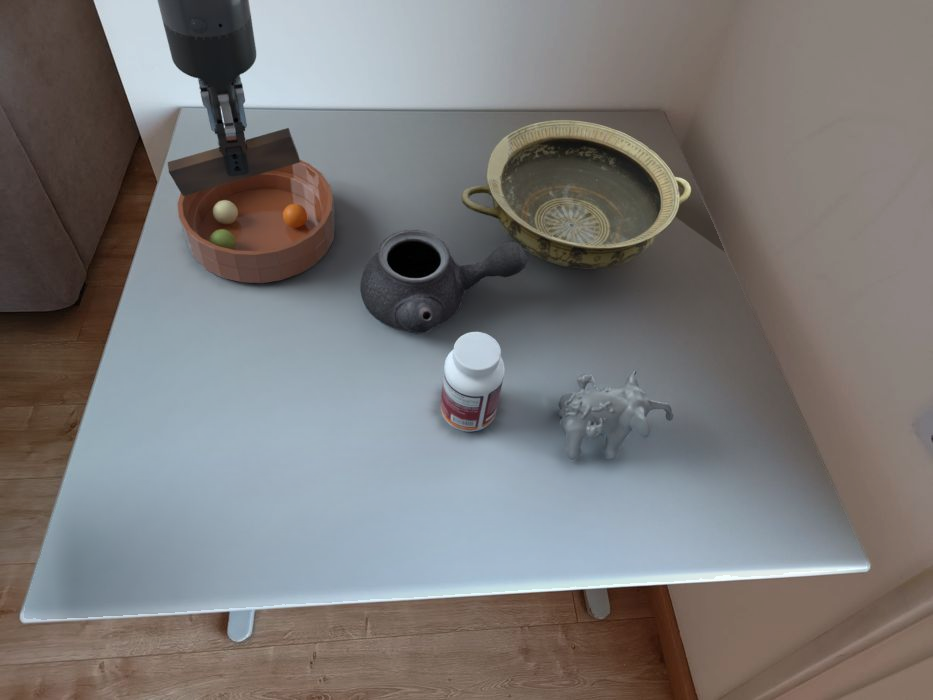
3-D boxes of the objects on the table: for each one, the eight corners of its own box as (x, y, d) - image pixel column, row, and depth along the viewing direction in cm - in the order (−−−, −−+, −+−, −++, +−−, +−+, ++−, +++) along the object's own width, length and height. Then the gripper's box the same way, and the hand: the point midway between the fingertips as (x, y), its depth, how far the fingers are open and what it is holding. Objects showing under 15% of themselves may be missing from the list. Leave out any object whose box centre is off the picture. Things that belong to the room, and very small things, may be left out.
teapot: (368, 363, 81) (366, 307, 73) (356, 263, 89) (353, 203, 81) (529, 349, 84) (544, 293, 76) (502, 254, 93) (513, 195, 85)
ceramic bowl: (647, 174, 105) (668, 116, 97) (701, 297, 91) (731, 242, 83) (445, 179, 100) (450, 119, 92) (470, 310, 87) (478, 253, 79)
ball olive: (237, 242, 85) (243, 242, 88) (218, 223, 85) (225, 224, 88) (219, 259, 86) (226, 259, 89) (201, 241, 85) (208, 241, 88)
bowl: (193, 297, 84) (183, 265, 80) (183, 194, 94) (173, 160, 90) (347, 273, 88) (345, 241, 84) (321, 177, 98) (318, 144, 94)
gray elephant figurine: (538, 409, 79) (551, 370, 73) (631, 381, 83) (651, 342, 76) (575, 482, 74) (592, 446, 68) (672, 449, 78) (697, 412, 72)
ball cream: (226, 202, 87) (225, 226, 88) (243, 202, 90) (242, 225, 91) (207, 198, 89) (207, 222, 89) (225, 198, 91) (224, 221, 92)
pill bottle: (480, 378, 81) (492, 317, 72) (505, 422, 78) (520, 364, 69) (430, 396, 79) (436, 335, 70) (453, 441, 76) (462, 384, 67)
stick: (298, 153, 78) (288, 127, 75) (300, 162, 77) (291, 136, 75) (181, 186, 77) (167, 161, 74) (182, 196, 76) (168, 171, 73)
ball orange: (304, 234, 91) (295, 221, 93) (314, 215, 90) (305, 202, 92) (284, 229, 89) (275, 216, 91) (294, 209, 88) (285, 196, 90)
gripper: (261, 49, 60) (283, 205, 74) (239, -31, 67) (263, 125, 81) (166, 57, 58) (207, 215, 72) (155, -26, 65) (194, 132, 79)
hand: (236, 167), depth 76 cm, fingers closed on stick, 1 cm apart
